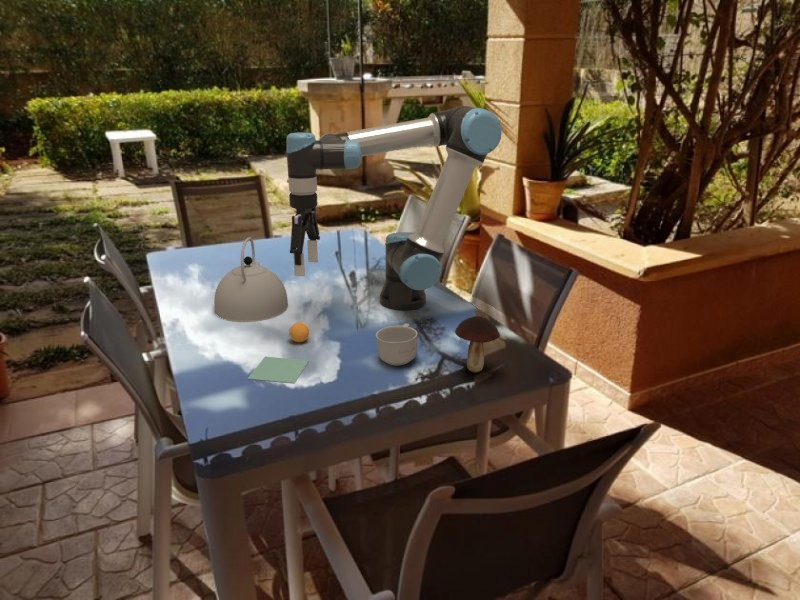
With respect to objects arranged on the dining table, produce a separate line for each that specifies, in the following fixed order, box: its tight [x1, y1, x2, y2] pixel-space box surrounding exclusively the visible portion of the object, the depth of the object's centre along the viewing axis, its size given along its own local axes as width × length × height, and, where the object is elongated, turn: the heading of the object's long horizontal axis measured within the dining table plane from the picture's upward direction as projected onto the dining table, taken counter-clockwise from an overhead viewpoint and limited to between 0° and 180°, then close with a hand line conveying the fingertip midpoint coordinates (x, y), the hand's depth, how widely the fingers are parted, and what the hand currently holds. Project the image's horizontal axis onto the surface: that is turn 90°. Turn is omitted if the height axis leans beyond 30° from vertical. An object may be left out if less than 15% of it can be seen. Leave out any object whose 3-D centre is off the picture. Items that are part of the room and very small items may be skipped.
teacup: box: [375, 323, 418, 367], centre depth 155 cm, size 14×11×8 cm
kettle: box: [213, 236, 289, 323], centre depth 185 cm, size 25×23×22 cm
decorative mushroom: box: [454, 315, 501, 373], centre depth 148 cm, size 11×11×15 cm
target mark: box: [247, 356, 310, 384], centre depth 150 cm, size 12×12×1 cm
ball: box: [289, 322, 310, 343], centre depth 164 cm, size 6×6×6 cm
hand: (306, 268), depth 168 cm, fingers open, 12 cm apart
